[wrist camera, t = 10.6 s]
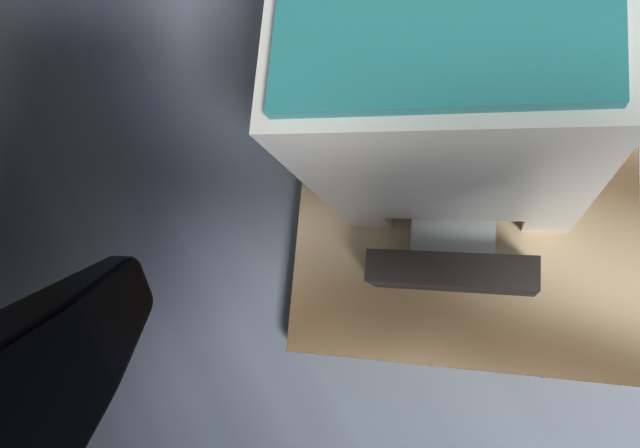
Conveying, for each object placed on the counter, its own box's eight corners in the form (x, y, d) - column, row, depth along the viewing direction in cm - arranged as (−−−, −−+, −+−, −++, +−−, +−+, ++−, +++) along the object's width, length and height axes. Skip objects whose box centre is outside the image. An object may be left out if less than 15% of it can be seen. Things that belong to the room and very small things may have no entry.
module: (568, 232, 17) (659, 117, 8) (351, 226, 19) (242, 128, 10) (568, 84, 18) (649, -158, 9) (361, 93, 20) (269, -98, 11)
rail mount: (633, 384, 17) (666, 393, 14) (297, 350, 20) (264, 352, 17) (624, -22, 19) (650, -88, 16) (328, 6, 23) (305, -46, 20)
